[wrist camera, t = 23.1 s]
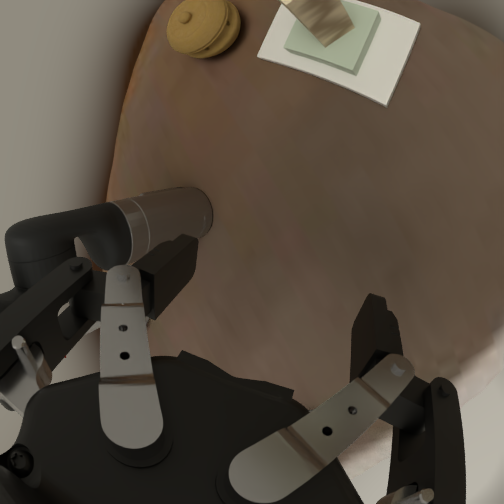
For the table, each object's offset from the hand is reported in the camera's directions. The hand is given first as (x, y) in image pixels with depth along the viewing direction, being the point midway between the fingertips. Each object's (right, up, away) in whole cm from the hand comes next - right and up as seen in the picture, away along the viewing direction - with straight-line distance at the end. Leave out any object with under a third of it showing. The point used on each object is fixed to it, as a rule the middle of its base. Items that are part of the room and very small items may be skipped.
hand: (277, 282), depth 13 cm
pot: (-6, +38, +26) cm, 47 cm away
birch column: (+8, +30, +14) cm, 34 cm away
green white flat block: (+11, +31, +18) cm, 37 cm away
